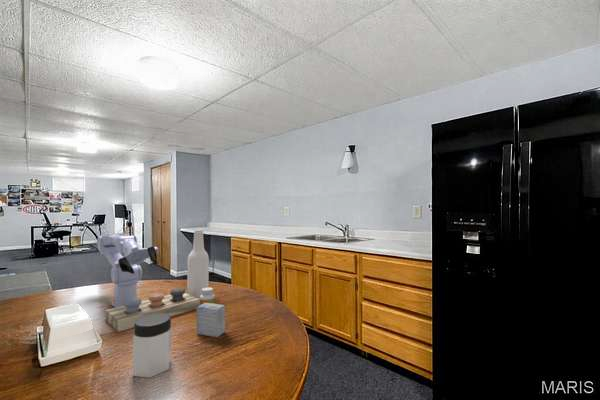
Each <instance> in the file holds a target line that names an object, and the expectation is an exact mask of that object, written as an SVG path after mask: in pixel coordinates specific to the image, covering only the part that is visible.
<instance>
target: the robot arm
mask: <svg viewBox="0 0 600 400" xmlns="http://www.w3.org/2000/svg"><path fill="white" fill-rule="evenodd" d="M96 246H97V250H98V251H99V253H100V254H101V255H103V256H104V257H105V258H106V259H107V261H108V262H109V263H110V265H111V266H112V267H111V268H110V269H111V270H110V278H111V282H112V284H114V285H115V286H114V287H113V302H111V303H110V305H111V306H113V308H117V307H121V306H124V302H125V301H126V300H129V299H136V298H138V283H139V281H141V279H142V277H143V269H142V266H141V265H140V264H142V263H143V262H144V261H146V260H147V259H148V258H149V260H150V261H151V262H152V263H153V264H154V265H157V264H158V261H157V259H158V256H157V254H159V253H160V251H159V248H158V247H157V246H149V247H146V248H145V247H144V248H143V247H141V246H140V245H139V244H138V239H137V236H136V235H135V234H133V235H128V234H126V233H124V232H119V233H116V234H108V235H107V234H106V235H99V236H98V237H97V240H96ZM122 253H123V254H124V256H123V255H122Z"/></svg>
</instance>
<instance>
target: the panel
mask: <svg viewBox="0 0 600 400" xmlns="http://www.w3.org/2000/svg"><path fill="white" fill-rule="evenodd" d="M198 306H200V299H199V298H196V297H194V296H191V295H189V294H187V292H185V293H184V294H183V300H182V301H178V302H173V301H172V295H170V294H168V295H164V299H162V306H159V307H155V308H151V301H149V299H147V300H141V304H140V305H139V312H136V313H132V314H128V315H127V314H126V307H125V306H121V307H117V308H115V307H113V308H110V309H105V321H106V323H108V324H109V325H111V326H112V327H113V328H114V329H115V330H116V331H117V332H118V333H119V332H123V331H126V330H130V329H134V323H135V321H136V320H138V319H139V318H141V317H144V316H147V315H151V314H168V315H170V316H171V317H173V316H177V315H180V314H183V313H186V312H189V311H193V310H197V307H198Z"/></svg>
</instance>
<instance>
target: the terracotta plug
mask: <svg viewBox="0 0 600 400" xmlns="http://www.w3.org/2000/svg"><path fill="white" fill-rule="evenodd" d="M164 296H165V294H164V293H162V292H159V293H158V292H157V293H151V294H149V295H148V300H149V301H151V308H155V307H159V306H162V299H164Z"/></svg>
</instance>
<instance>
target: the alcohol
mask: <svg viewBox="0 0 600 400" xmlns="http://www.w3.org/2000/svg"><path fill="white" fill-rule="evenodd" d="M204 241H205V240H204V229H200V228H198V229H197V228H196V229H194V230H193V243H192V250H191V251H190V253H189V254H188V256H187V276H186V277H187V278H186V279H187V285H186V288H187V290H186V293H187V294H189V295H191V296H194V297H196V298H199V299H200V296H201V295H202V289H203V288H207V287H209V286H210V285H209V272H210V271H209V270H210V268H209V266H210V265H209V262H210V259H209V254H208V252H207V251H206V249H205V244H204V243H205V242H204Z"/></svg>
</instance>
